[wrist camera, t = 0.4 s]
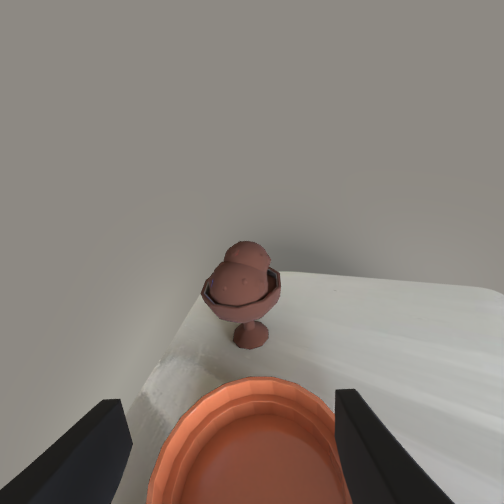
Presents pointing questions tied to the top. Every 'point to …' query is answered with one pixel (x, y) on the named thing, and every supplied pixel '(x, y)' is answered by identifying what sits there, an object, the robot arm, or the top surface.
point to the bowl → (251, 449)
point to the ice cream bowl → (244, 291)
